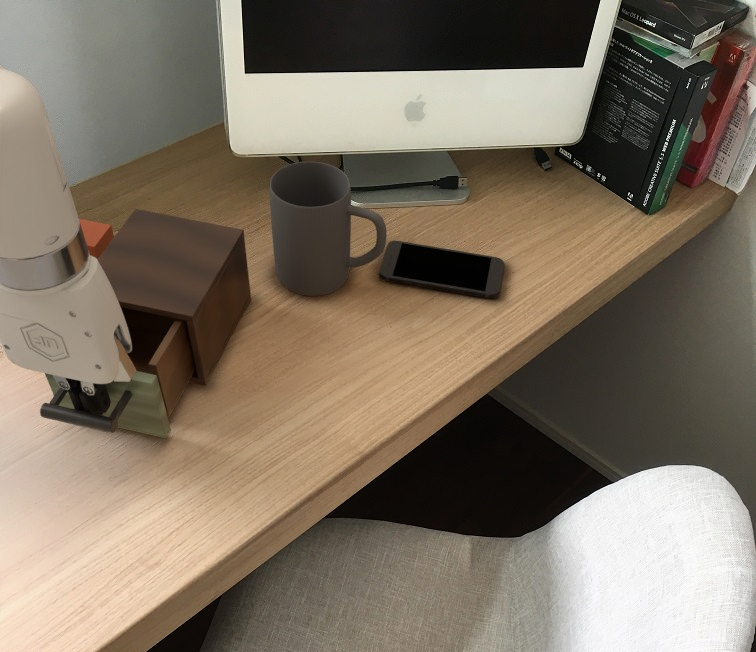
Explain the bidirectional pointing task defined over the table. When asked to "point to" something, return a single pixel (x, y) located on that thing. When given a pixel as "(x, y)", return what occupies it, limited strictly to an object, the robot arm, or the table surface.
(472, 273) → the smartphone
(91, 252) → the block
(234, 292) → the cabinet
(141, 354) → the drawer
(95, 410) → the robot arm
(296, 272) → the mug
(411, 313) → the table surface
